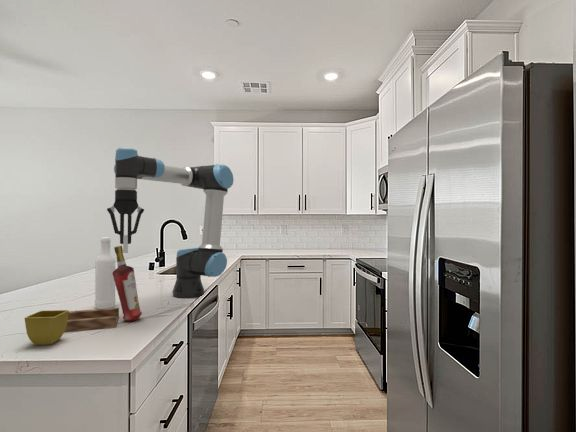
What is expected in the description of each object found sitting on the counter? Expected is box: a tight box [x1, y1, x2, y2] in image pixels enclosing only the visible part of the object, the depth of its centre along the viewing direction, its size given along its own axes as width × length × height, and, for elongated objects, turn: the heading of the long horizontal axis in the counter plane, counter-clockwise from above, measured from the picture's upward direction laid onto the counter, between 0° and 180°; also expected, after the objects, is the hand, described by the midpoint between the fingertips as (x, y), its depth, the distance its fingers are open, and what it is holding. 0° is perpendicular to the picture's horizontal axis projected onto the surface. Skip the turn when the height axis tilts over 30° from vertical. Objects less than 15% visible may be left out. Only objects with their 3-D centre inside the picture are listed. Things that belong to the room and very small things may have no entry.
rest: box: [64, 307, 120, 333], centre depth 131 cm, size 25×15×3 cm, turn 111°
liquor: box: [112, 245, 143, 322], centre depth 136 cm, size 7×7×28 cm
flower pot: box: [24, 309, 70, 346], centre depth 113 cm, size 9×9×9 cm
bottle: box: [94, 236, 116, 309], centre depth 156 cm, size 8×8×30 cm
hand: (125, 252), depth 136 cm, fingers closed
